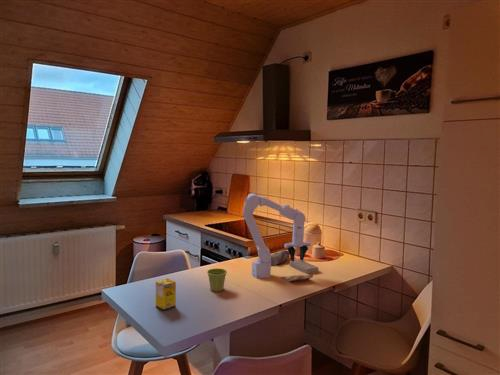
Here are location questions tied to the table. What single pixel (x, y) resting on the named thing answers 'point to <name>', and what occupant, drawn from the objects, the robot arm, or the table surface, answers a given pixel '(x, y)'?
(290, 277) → the laid board
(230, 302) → the table surface
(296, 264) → the brick
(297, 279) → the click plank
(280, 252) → the decorative bottle
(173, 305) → the supplement box
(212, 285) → the plant pot
